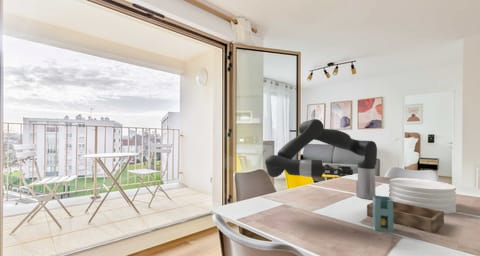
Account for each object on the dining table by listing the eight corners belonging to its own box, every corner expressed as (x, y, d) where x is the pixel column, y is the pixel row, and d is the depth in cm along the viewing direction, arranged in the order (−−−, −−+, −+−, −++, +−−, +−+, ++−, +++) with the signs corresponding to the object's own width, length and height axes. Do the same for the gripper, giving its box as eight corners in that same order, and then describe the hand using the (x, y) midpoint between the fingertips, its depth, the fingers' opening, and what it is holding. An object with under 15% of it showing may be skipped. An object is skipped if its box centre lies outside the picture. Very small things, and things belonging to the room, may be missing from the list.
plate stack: (471, 215, 109) (471, 190, 109) (403, 211, 114) (403, 187, 115) (434, 199, 136) (434, 179, 136) (381, 196, 142) (381, 177, 142)
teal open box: (375, 230, 91) (375, 199, 92) (372, 224, 97) (372, 195, 97) (393, 232, 89) (393, 200, 90) (389, 226, 95) (389, 196, 95)
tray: (367, 215, 107) (367, 204, 107) (381, 208, 117) (380, 198, 117) (434, 233, 89) (433, 220, 89) (443, 223, 99) (443, 211, 99)
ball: (376, 225, 93) (376, 217, 94) (380, 224, 95) (379, 216, 96) (385, 227, 91) (385, 219, 91) (388, 226, 93) (388, 218, 93)
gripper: (309, 161, 97) (353, 163, 91) (311, 158, 110) (350, 159, 104) (309, 179, 96) (353, 183, 91) (311, 174, 110) (350, 176, 104)
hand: (351, 170), depth 97 cm, fingers open, 8 cm apart
